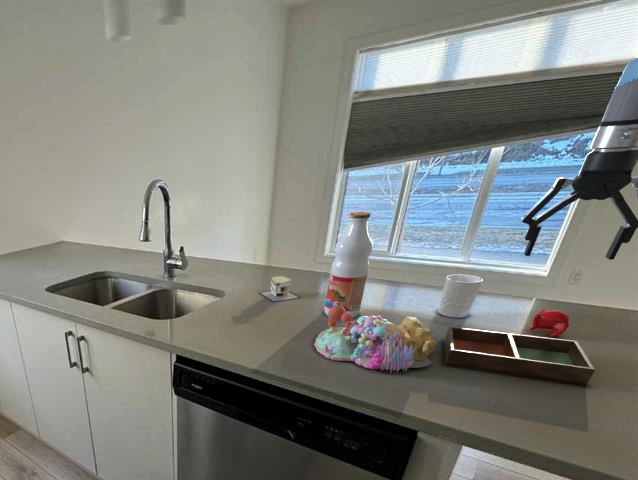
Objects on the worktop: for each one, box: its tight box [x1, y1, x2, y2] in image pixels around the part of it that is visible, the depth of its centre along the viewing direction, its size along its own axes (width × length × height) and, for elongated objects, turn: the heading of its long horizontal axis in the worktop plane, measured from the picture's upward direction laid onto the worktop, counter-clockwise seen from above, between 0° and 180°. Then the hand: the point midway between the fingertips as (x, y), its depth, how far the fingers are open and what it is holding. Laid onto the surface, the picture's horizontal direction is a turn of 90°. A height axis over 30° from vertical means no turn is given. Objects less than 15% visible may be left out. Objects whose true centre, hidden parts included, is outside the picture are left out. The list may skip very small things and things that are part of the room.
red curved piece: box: [529, 309, 570, 338], centre depth 97 cm, size 8×6×6 cm
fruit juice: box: [323, 211, 374, 319], centre depth 113 cm, size 9×9×28 cm
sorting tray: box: [444, 326, 596, 387], centre depth 88 cm, size 22×14×4 cm, turn 57°
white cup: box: [437, 273, 484, 319], centre depth 111 cm, size 8×8×10 cm
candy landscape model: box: [313, 305, 438, 374], centre depth 96 cm, size 25×24×9 cm
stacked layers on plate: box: [260, 275, 299, 302], centre depth 137 cm, size 10×9×6 cm
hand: (566, 256), depth 92 cm, fingers open, 13 cm apart
